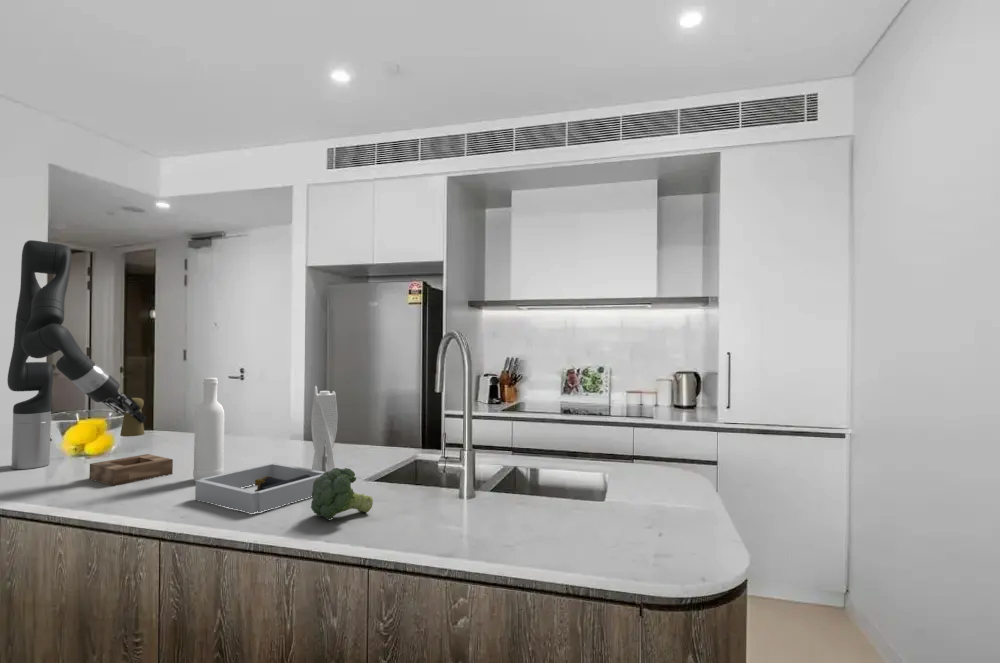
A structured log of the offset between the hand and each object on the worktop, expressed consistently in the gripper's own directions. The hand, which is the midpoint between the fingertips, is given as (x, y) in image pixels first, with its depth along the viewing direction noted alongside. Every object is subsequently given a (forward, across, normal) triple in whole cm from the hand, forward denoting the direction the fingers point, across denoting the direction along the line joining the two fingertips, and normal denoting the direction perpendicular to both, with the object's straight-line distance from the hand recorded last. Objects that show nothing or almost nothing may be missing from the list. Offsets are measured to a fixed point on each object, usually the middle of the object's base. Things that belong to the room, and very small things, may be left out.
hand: (139, 420), depth 163 cm
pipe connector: (+17, -54, +7) cm, 57 cm away
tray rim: (+16, -50, +8) cm, 53 cm away
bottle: (+18, -22, +6) cm, 29 cm away
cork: (+2, 0, +4) cm, 5 cm away
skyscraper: (+30, -51, -6) cm, 59 cm away
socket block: (+11, 0, +13) cm, 17 cm away
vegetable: (+15, -79, +9) cm, 81 cm away
